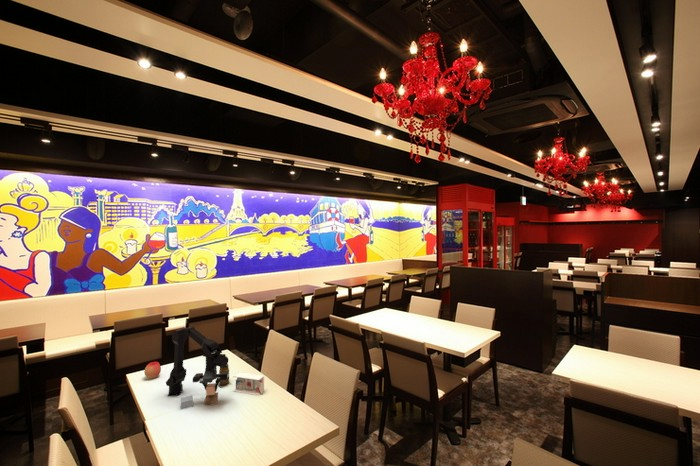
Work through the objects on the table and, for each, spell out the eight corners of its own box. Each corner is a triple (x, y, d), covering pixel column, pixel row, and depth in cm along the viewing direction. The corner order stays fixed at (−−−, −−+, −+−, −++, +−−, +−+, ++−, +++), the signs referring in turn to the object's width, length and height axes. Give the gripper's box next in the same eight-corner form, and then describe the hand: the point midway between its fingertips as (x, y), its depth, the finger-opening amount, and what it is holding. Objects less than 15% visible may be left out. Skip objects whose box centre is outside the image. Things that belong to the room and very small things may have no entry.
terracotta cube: (206, 395, 177) (206, 387, 177) (208, 391, 181) (208, 383, 181) (214, 394, 177) (214, 386, 177) (216, 390, 182) (216, 383, 182)
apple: (145, 376, 214) (145, 361, 214) (161, 373, 218) (161, 359, 218) (143, 382, 205) (143, 367, 206) (160, 379, 209) (159, 364, 210)
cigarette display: (232, 391, 191) (232, 376, 192) (238, 387, 197) (238, 372, 197) (261, 395, 186) (260, 379, 186) (266, 391, 191) (265, 375, 191)
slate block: (181, 409, 172) (180, 402, 172) (180, 404, 177) (180, 397, 177) (193, 406, 175) (193, 399, 175) (192, 401, 180) (192, 394, 180)
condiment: (228, 380, 207) (227, 362, 207) (232, 384, 200) (232, 366, 200) (216, 383, 202) (216, 365, 202) (220, 388, 196) (220, 369, 196)
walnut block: (204, 406, 175) (204, 398, 175) (206, 400, 181) (206, 393, 181) (216, 404, 177) (216, 397, 177) (217, 399, 183) (217, 392, 183)
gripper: (189, 371, 170) (189, 400, 170) (224, 368, 173) (224, 396, 173) (195, 363, 181) (196, 390, 181) (229, 360, 184) (229, 387, 184)
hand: (211, 391), depth 179 cm, fingers closed on terracotta cube, 4 cm apart
